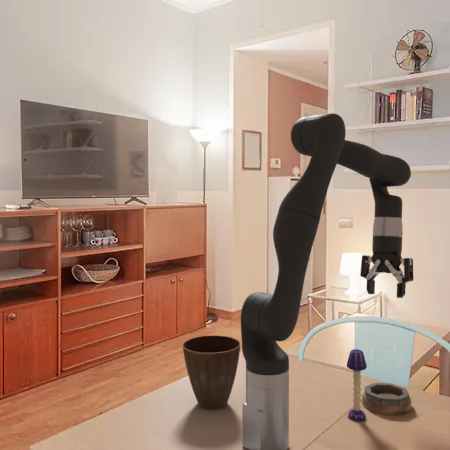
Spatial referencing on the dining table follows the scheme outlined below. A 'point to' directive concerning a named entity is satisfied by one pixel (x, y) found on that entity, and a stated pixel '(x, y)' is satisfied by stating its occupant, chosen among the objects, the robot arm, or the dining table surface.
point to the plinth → (386, 408)
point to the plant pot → (212, 368)
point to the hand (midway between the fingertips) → (385, 295)
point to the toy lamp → (356, 383)
